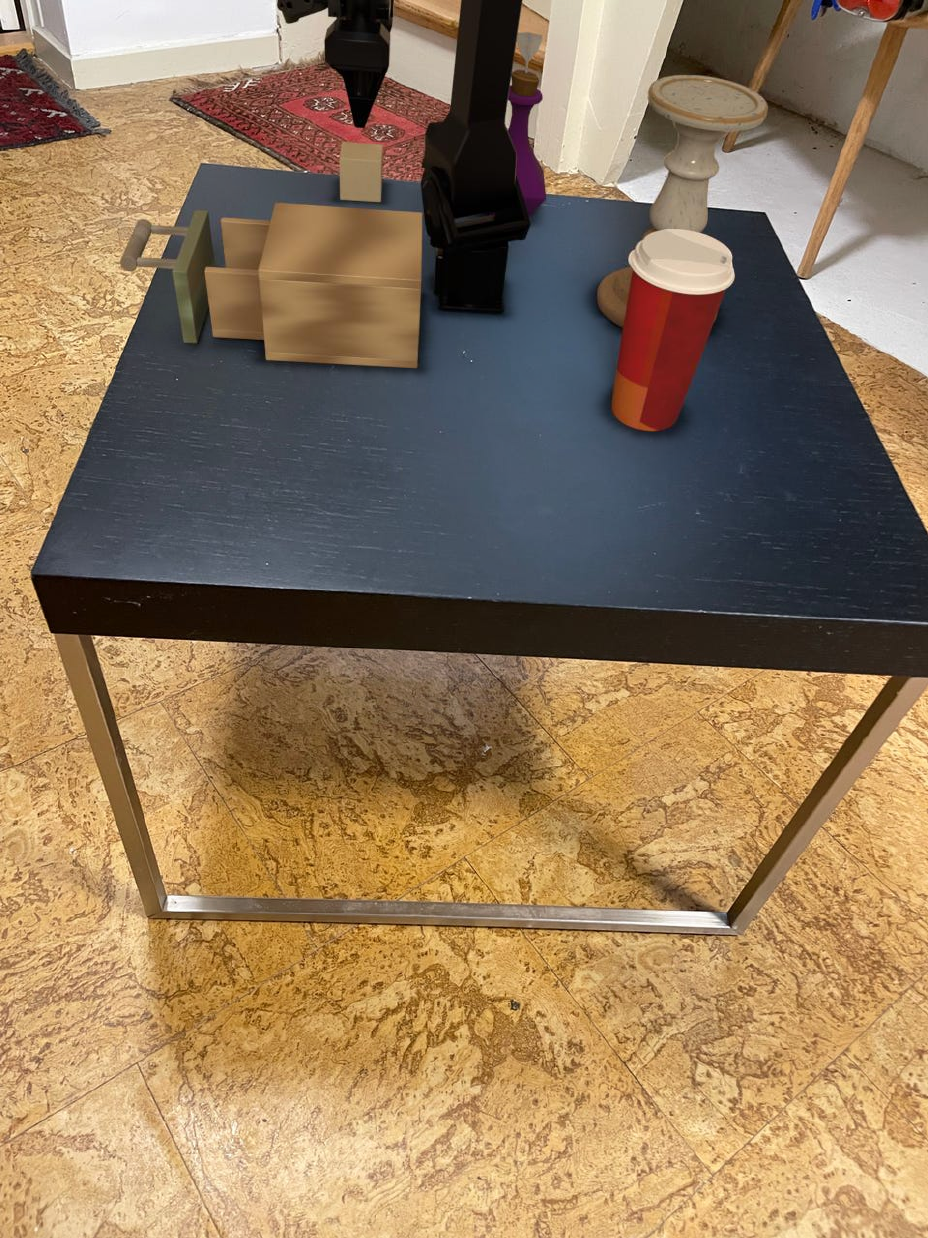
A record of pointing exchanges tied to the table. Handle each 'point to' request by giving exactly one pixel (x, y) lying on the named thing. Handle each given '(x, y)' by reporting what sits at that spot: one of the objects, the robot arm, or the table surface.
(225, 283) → the drawer
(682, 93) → the candle holder
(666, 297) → the coffee cup
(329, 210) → the cabinet
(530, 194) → the perfume bottle
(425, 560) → the table surface
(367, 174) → the block
